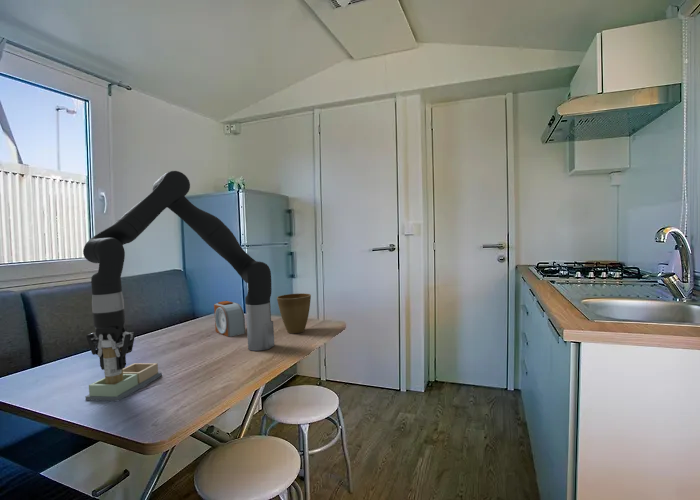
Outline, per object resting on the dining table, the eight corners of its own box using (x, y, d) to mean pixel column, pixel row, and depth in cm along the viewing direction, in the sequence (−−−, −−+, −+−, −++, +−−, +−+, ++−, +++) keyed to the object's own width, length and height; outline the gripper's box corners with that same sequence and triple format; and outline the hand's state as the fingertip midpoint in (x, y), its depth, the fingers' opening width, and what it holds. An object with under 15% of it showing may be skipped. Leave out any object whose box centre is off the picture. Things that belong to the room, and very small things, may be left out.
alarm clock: (213, 331, 171) (211, 302, 171) (231, 327, 177) (229, 299, 176) (227, 337, 160) (225, 306, 160) (245, 333, 166) (244, 303, 165)
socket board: (161, 375, 118) (160, 363, 118) (118, 401, 100) (117, 386, 100) (133, 374, 119) (132, 362, 119) (85, 400, 102) (84, 385, 101)
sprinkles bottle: (124, 380, 108) (121, 335, 108) (123, 386, 104) (119, 339, 104) (106, 384, 106) (102, 337, 106) (103, 389, 102) (99, 341, 102)
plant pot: (318, 328, 168) (316, 293, 168) (301, 337, 155) (299, 299, 154) (290, 326, 175) (289, 292, 174) (271, 334, 161) (269, 298, 160)
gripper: (140, 305, 107) (145, 364, 108) (97, 306, 109) (101, 363, 110) (121, 311, 99) (125, 374, 100) (74, 312, 102) (79, 373, 103)
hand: (113, 368), depth 105 cm, fingers closed on sprinkles bottle, 4 cm apart
